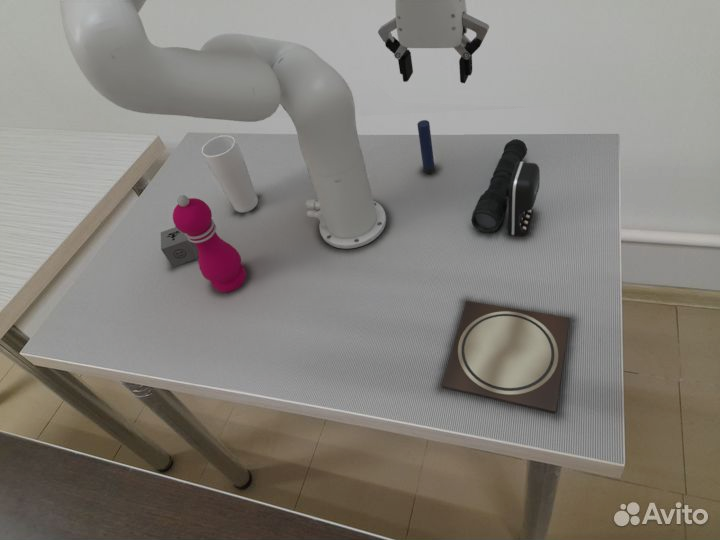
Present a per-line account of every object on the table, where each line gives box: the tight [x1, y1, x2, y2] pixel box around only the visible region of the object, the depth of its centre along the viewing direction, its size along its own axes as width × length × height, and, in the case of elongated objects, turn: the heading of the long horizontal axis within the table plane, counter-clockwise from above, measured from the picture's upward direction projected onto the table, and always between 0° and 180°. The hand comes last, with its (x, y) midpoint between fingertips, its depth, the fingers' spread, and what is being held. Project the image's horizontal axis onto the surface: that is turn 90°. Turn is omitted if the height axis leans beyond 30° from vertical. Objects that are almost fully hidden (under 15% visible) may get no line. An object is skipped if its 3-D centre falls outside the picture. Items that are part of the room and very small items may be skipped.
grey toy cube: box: [160, 226, 199, 268], centre depth 100 cm, size 5×5×5 cm
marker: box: [416, 119, 436, 175], centre depth 100 cm, size 2×2×11 cm
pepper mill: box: [172, 194, 247, 293], centre depth 88 cm, size 7×7×20 cm
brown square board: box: [441, 300, 570, 414], centre depth 74 cm, size 15×15×1 cm
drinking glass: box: [201, 134, 259, 214], centre depth 103 cm, size 7×7×15 cm
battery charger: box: [507, 160, 541, 236], centre depth 85 cm, size 7×4×11 cm, turn 157°
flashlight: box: [470, 138, 528, 234], centre depth 94 cm, size 5×21×5 cm, turn 155°
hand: (436, 78), depth 86 cm, fingers open, 9 cm apart
